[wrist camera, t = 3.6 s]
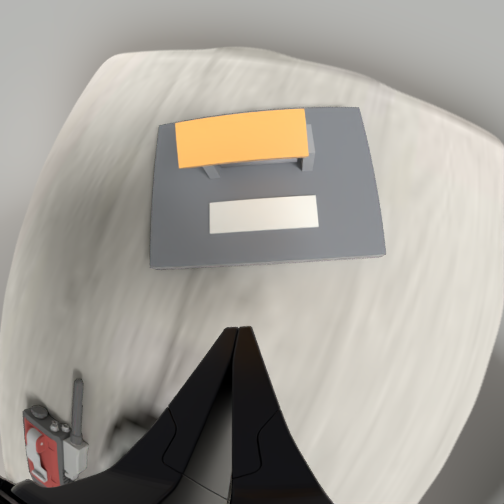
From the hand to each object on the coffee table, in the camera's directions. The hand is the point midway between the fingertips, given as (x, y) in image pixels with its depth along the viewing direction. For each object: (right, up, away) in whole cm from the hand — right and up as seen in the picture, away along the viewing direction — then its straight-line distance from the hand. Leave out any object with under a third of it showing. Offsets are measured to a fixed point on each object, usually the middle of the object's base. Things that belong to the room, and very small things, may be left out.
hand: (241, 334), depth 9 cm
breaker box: (+1, +8, +15) cm, 17 cm away
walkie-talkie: (-21, -18, +14) cm, 31 cm away
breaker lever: (+1, +10, +12) cm, 16 cm away
